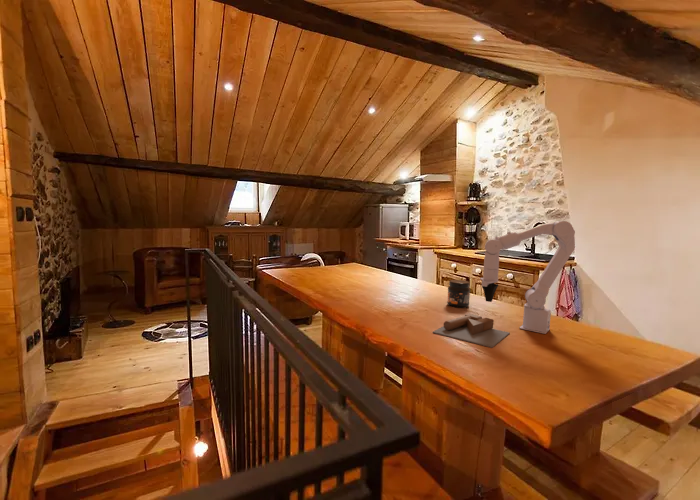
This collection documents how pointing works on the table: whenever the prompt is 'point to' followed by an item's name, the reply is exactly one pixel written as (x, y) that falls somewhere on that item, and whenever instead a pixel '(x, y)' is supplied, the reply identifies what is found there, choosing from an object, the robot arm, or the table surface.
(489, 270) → the robot arm
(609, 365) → the table surface
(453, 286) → the supplement container
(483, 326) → the wooden block
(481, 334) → the mat
